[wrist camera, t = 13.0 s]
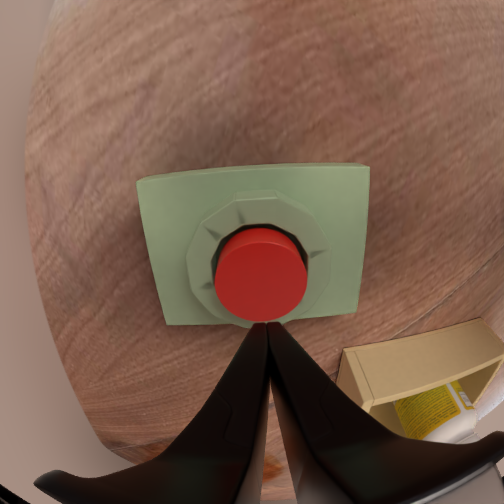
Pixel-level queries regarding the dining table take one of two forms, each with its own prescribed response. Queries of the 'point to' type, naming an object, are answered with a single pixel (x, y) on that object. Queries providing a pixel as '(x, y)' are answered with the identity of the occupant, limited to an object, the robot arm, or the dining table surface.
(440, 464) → the robot arm
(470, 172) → the dining table surface
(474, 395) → the wooden planter box
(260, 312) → the button
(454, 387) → the pill bottle
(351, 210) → the panel
